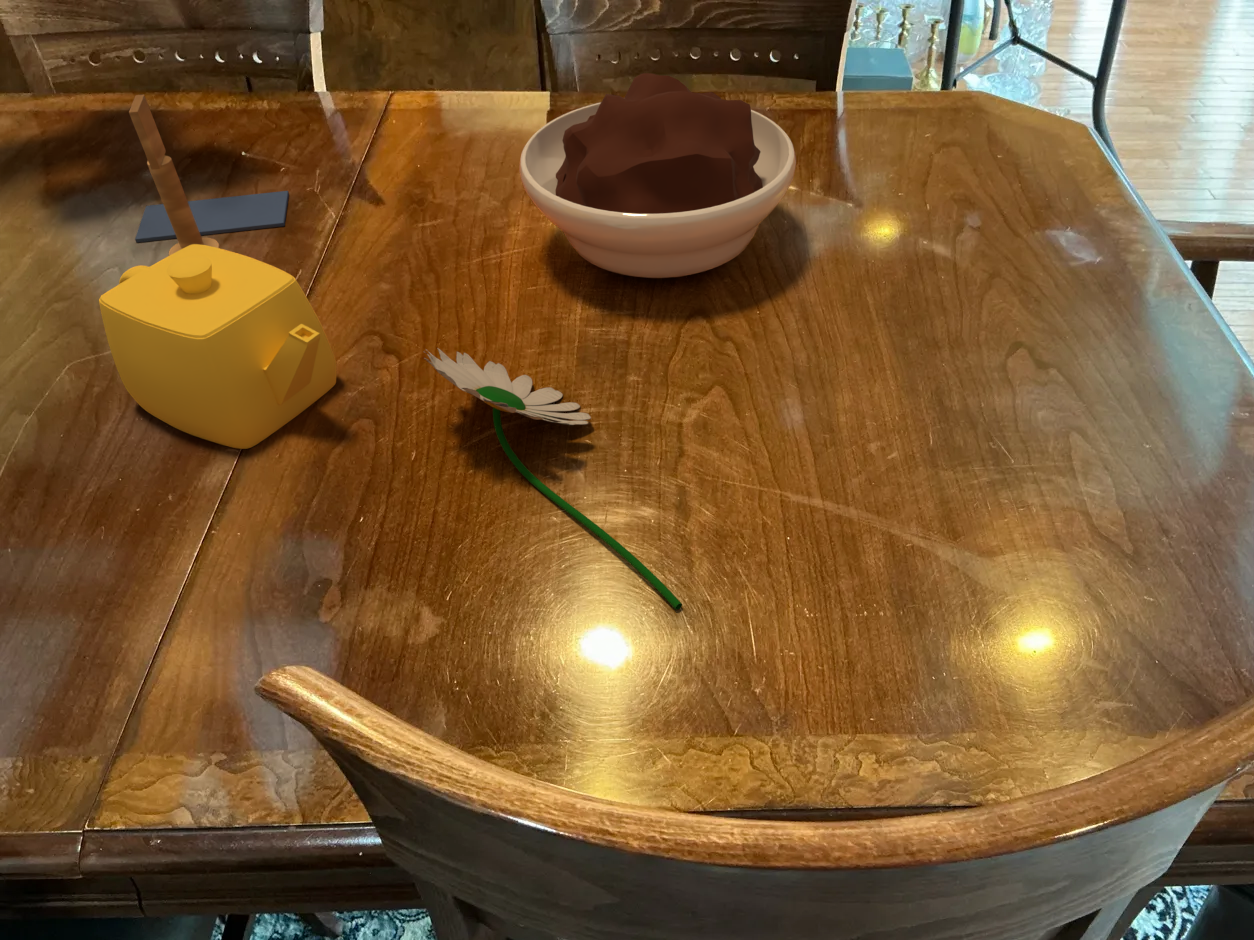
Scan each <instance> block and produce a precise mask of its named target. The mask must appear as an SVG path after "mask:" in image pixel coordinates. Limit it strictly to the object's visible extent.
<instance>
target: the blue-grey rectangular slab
mask: <svg viewBox="0 0 1254 940" xmlns="http://www.w3.org/2000/svg"><path fill="white" fill-rule="evenodd" d="M289 197H290V193H289V190H281V191H272V192H263V193H254V194H243V195H235V196H234V195H233V196H225V197H215V198H207V199H206V198H205V199H196V200H187V201H188V203H189V206H190V209H191V211H192V214H193V216H194V219H195V222H196V224H197V227H198V229H199V232H200V235H201V236H208V235H219V234H228V233H235V232H245V231H252V230H262V229H271V228H280V227H285V226H286V218H287V211H288V204H289ZM172 239H177V237H176V235H175V232H174V230H173V227H172V225H171V222H170V220H169V217H168V215H167V212H166V210H165V207H164V205H163V203H158V204H149V205H145V208H144V210H143V214H142V217H141V220H140V223H139V225H138V229H137V232H136V235H135V238H134V240H135V243H146V242H154V241H155V242H156V241H163V240H164V241H165V240H172Z"/></svg>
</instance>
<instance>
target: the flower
mask: <svg viewBox="0 0 1254 940" xmlns="http://www.w3.org/2000/svg"><path fill="white" fill-rule="evenodd" d="M436 349H437V351H438V353H439V357H440V359H439V358H438V357H436V356H435V355H433V354H432V353H431V352H430V351H429V350H428V349H426V351H424V353H425V354H426V355H427V356H428V358H429V359H428V358H426V357H423V359H424V360H425V361H426V362H427V363H428V364H429V365H431V366H432V367H433V369H435V370H436V372H437V373H438V374H439V375H441V376H442V377H443V378H444V379H445V380H447V381H449V382H450V383H451V384H452V385H454V386H455V387H457V389H460V391H463V392H465V393H466V394H467V393H468V394H470V395H472V396H474V397H476V399H479V400H481V401H482V402H484V404H486V405H488V406H490V407H491V408H492V420H493V427H494V431H495V434H496V437H497V439H498V442H499V444H500V446H501V448H502V449H503V451H504V453H505V455H506V456H507V458H508V460H509V461H510V462H511V463H512V465H513V466H514V467H515V468H516V469H517V470H518V472H519V473H520V474H521V475H522V476H523V477H524V478H525V479H526V480H527V481H528V482H529V483H530V484H531V485H533V486H534V487H535V488H536V489H537V490H538V491H539V492H541V494H543V495H545V496H546V497H547V498H548V499H549V500H550V501H552V502H553V503H554V504H556V505H557V506H559V507H560V508H561V509H562V510H563V511H565V512H566V513H568V514H569V515H570V516H571V517H573V518H574V519H575V520H577V521H578V522H579V523H581V524H582V525H583V526H584V527H586V528H587V529H588V530H589V531H591V532H592V533H593V534H594V535H596V536H597V537H598V538H599V539H601V540H602V541H603V542H604V543H606V544H607V545H608V546H609V547H611V549H613V550H614V551H615V552H616V553H618V554H619V556H621V557H622V558H623V559H624V560H625V561H627V562H628V563H629V564H630V565H631V566H632V567H633V568H634V569H635V570H636V571H638V573H639V574H641V575H642V577H644V578H645V579H646V580H647V581H648V582H649V584H650V585H652V586H653V588H655V589H656V591H658V592H659V594H660V595H662V597H663V598H664V599H665V600H666V601H667V602H668V603H669V604H670V605H671V606H672V607H673V609H674V610H675V611H678V610H680V609H681V608H682V606H683V603H682V602H681V601H680V600H679V599H678V598H677V597H676V596H675V594H674V593H673V592H672V591H671V589H669V588H668V587H667V586H666V585H665V584H664V583H663V582H662V581H661V580H660V579H659V578H658V577H657V575H655V574H654V573H653V572H652V571H651V570H650V569H649V568H648V567H647V566H645V565H644V564H643V563H642V562H641V560H639V559H638V558H637V557H636V556H635V555H634V554H632V553H631V552H630V551H629V550H628V549H627V548H625V546H623V545H622V544H621V543H620V542H618V541H617V540H616V539H615V538H614V537H612V536H611V535H610V534H609V533H607V532H606V531H605V530H604V529H603V528H601V527H600V526H599V525H597V524H596V523H595V522H594V521H592V520H591V519H590V518H588V517H587V516H586V515H585V514H583V513H582V512H581V511H579V510H578V509H577V508H575V507H574V506H573V505H571V504H570V503H569V502H567V501H566V500H564V499H563V498H562V497H560V496H559V495H558V494H557V493H556V492H555V491H553V490H552V489H551V488H549V487H548V486H547V485H546V484H545V483H543V482H542V481H541V480H540V479H538V478H537V476H536V475H534V474H533V473H532V472H531V471H530V470H529V468H527V467H526V466H525V465H524V464H523V462H522V461H521V459H520V458H518V456H517V455H516V453H515V452H514V450H513V448H512V447H511V445H510V443H509V441H508V440H507V437H506V435H505V432H504V428H503V425H502V419H501V411H502V412H504V413H511V414H513V413H517V414H520V415H522V416H524V417H527V418H529V419H533V420H542V421H545V422H549V423H553V424H558V425H565V426H574V425H577V426H584V425H586V426H587V425H588V424H589V421H588V420H591V419H592V417H591V415H590V414H589V413H587V412H581V411H580V412H572V411H578V410H579V409H580V408H581V405H580V404H579V403H578V402H576V401H575V402H573V401H571V402H570V401H569V402H561V403H556V404H555V402H558V401H560V400H562V398H563V397H564V393H562V392H561V391H560V390H557V389H554V388H553V387H551V386H548V387H542V388H539V389H536V390H535V391H532V388H533V378H532V377H531V376H529V375H528V374H523V375H520V376H516V378H515V379H514V380H512V381H511V378H510V376H509V374H508V371H507V369H506V367H505V366H504V365H503V364H502V363H500V362H498V363H496V362H493V361H491V360H489V361H487V363H486V364H485V365H484V367H483V369H482V368H481V367H480V365H478V363H476V361H475V360H474V359H473V357H471V356H470V355H469V354H468V353H466V352H463V354H462V353H461V352H459V351H456V357H455V360H456V361H454V360H453V359H451V358H450V357H449V356H448V355H447V354H446V353H445V352H444V351H443V350H441V349H440V348H438V347H436ZM427 352H428V353H427ZM531 391H532V392H531ZM552 403H553V404H552ZM564 412H565V413H564ZM566 412H567V413H566Z"/></svg>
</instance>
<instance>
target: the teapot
mask: <svg viewBox="0 0 1254 940" xmlns="http://www.w3.org/2000/svg"><path fill="white" fill-rule="evenodd" d="M98 304H99V310H100V314H101V319H102V323H103V328H104V332H105V335H106V340H107V343H108V346H109V350H110V353H111V357H112V359H113V363H114V365H115V368H116V370H117V373H118V376H119V378H120V380H121V382H122V385H123V387H124V388H125V390H126V391H127V393H128V394H129V395H130V396H131V398H132V399H133V400H134V401H135V402H136V403H137V404H138V405H139V406H140V407H141V408H142V410H144V411H145V412H147V413H148V414H150V415H151V416H153V417H155V418H156V419H158V420H160V421H162V422H164V423H166V424H167V425H168V426H171V427H173V428H175V429H177V430H179V431H180V432H183V433H186V434H188V435H190V436H194V437H197V438H200V439H202V440H205V441H208V442H212V443H215V444H218V445H221V446H226V447H229V448H233V449H240V450H246V449H247V450H248V449H252V448H253V447H254V446H255V447H256V445H258V444H260V443H261V442H262V441H264V440H266V439H267V438H268V437H270V436H271V435H273V434H274V433H276V432H277V431H278V430H280V429H281V428H283V427H284V426H285V425H287V424H288V423H289V422H291V421H292V420H293V419H295V418H296V417H297V416H299V415H301V413H303V412H304V411H306V410H307V409H308V408H309V407H310V406H312V405H313V404H314V403H315V402H317V401H318V400H319V399H321V398H322V397H323V396H324V395H326V394H327V393H328V392H329V391H330V390H332V389H333V387H334V386H335V385H336V383H337V371H338V370H337V369H338V368H337V367H338V366H337V360H336V357H335V353H334V351H333V348H332V346H331V343H330V341H329V338H328V336H327V333H326V331H325V329H324V327H323V325H322V322H321V321H320V319H319V316H318V315H317V313H316V311H315V309H314V307H313V306H312V304H311V302H310V301H309V299H308V297H307V296H306V294H305V292H304V290H303V289H302V287H301V286H300V284H299V281H297V279H296V278H295V276H293V275H291V273H288V272H287V271H285V270H283V269H280V268H278V267H276V266H274V265H271V264H270V263H266V262H264V261H262V260H258V259H256V258H253V257H250V256H248V255H245V254H241V253H237V252H234V251H231V250H226V249H223V248H221V247H220V248H216V247H211V246H206V245H200V244H192V245H189V246H187V247H185V248H183V249H181V250H179V251H177V252H175V253H173V254H172V255H170V256H169V255H167V256H166V257H164V258H163V259H160V260H159V261H157V262H155V263H154V264H152V265H150V266H148V265H135V266H132V267H129V268H127V270H126V271H124V272H123V273H122V275H121V276H120V278H119V280H118V284H117V285H116V286H114V287H112V288H111V289H109V290H107V291H106V292H105V293H103V294H101V295H100V297H99V299H98Z"/></svg>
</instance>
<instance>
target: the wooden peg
mask: <svg viewBox="0 0 1254 940" xmlns="http://www.w3.org/2000/svg"><path fill="white" fill-rule="evenodd" d="M130 106H131V107H130V108H129V111H128V114H129V116H130V119H131V122H132V125H133V127H134V130H135V132H136V134H137V137H138V139H139V142H140V144H141V147H142V149H143V151H144V154H145V157H146V159H147V161H146V165H147V167H148V170H149V173H150V174H151V177H152V180H153V181H154V182H153V183H154V185H155V187H156V190H157V192H158V195H159V198H160V200H161V202H162V204H163V205H164V207H165V210H166V212H167V215H168V217H169V220H170V222H171V225H172V227H173V230H174V232H175V235H176V237H177V238H176V239H177V243H175V244H174V245H172V247H170V248H169V250H168V256H170V255H172V254H173V253H175V252H177V251H179V250H181V249H183V248H185V247H187V246H189V245H192V244H200V245H206V246H211V247H216V248H220V249H221V246H220V244H219V242H218V241H217V240H216V239H215V238H212V237H206V236H202V235H200V232H199V229H198V227H197V224H196V222H195V219H194V216H193V214H192V211H191V209H190V206H189V203H188V201H189V200H188V198H187V195H186V193H185V191H184V188H183V186H182V182H181V180H180V177H179V175H178V172H177V170H176V169H177V168H176V167H175V164H174V162H173V159H172V157H171V156H169V155H166V148H165V145H164V141H163V140H162V136H161V135H160V132H159V129H158V126H157V124H156V122H155V119H154V117H153V114H152V112H151V109H150V106H149V104H148V100H147V98H146V95H145V94H136V95H134V98H133V101H132V104H131V105H130Z"/></svg>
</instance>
